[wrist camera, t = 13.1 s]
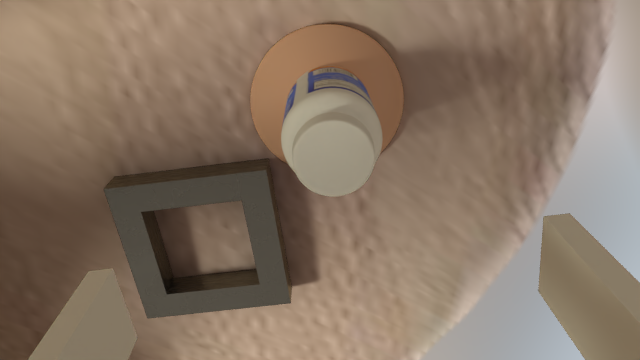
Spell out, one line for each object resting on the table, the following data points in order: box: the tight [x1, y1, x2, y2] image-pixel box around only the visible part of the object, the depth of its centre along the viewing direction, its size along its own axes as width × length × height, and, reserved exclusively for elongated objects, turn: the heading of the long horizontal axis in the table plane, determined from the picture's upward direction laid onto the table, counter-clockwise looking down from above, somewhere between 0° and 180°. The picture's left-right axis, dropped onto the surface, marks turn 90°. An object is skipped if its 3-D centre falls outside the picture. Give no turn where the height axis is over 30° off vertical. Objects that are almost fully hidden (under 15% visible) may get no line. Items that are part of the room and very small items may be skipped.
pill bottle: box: [281, 66, 382, 197], centre depth 28 cm, size 5×5×10 cm
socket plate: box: [104, 159, 292, 318], centre depth 36 cm, size 11×11×2 cm
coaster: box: [250, 24, 404, 165], centre depth 33 cm, size 10×10×1 cm
